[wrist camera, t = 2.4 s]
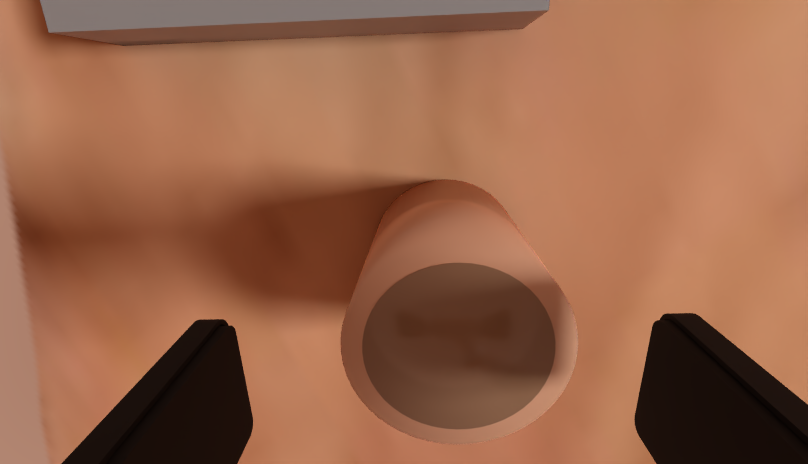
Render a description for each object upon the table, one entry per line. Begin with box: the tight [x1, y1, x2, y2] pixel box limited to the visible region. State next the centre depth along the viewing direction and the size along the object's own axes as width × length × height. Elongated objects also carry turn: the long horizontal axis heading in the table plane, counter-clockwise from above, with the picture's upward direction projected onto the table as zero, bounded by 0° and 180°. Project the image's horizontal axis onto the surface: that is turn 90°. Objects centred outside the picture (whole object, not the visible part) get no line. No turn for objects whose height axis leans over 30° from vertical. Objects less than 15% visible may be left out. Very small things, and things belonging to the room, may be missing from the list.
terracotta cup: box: [341, 180, 578, 444], centre depth 15 cm, size 6×6×8 cm
